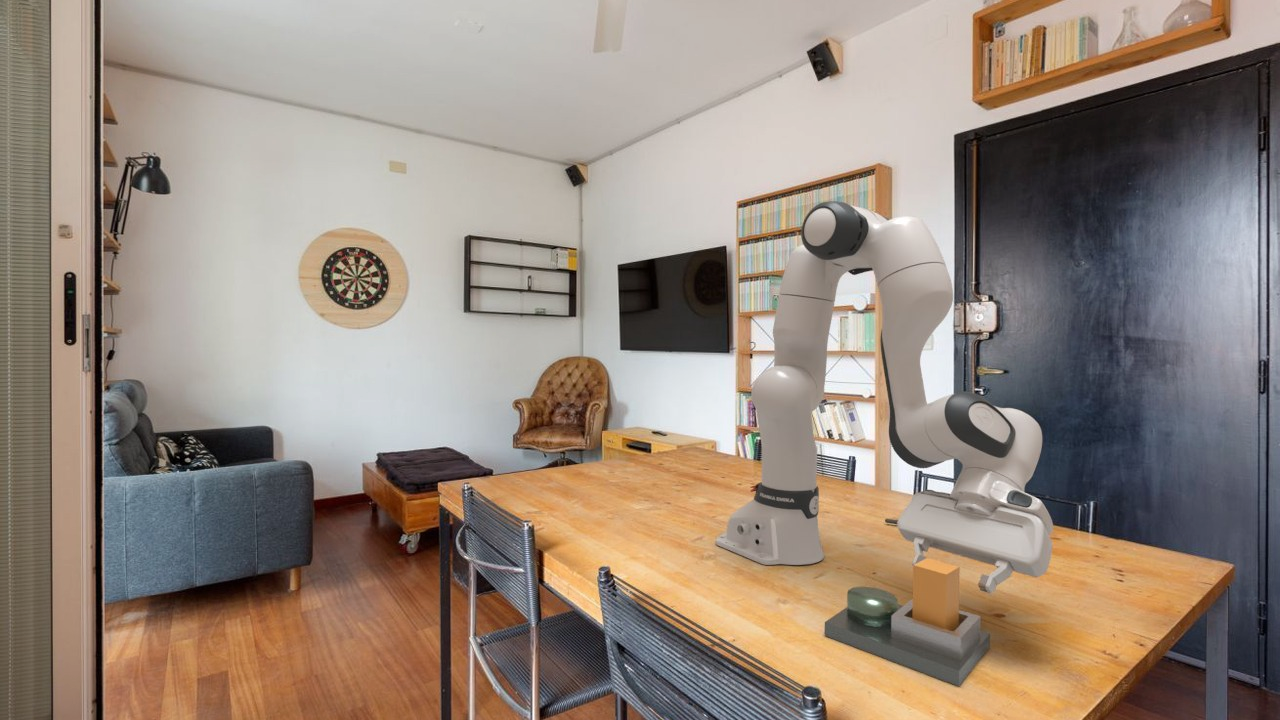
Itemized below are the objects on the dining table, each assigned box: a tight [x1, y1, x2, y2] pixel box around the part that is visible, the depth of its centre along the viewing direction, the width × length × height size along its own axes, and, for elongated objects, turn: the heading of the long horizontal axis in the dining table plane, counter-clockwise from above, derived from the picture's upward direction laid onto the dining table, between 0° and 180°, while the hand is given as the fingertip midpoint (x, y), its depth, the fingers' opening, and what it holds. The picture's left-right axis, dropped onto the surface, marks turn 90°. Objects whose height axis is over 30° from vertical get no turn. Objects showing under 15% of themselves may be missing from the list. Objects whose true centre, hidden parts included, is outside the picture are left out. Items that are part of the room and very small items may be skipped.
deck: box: [824, 586, 991, 687], centre depth 83 cm, size 18×14×5 cm
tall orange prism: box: [912, 557, 961, 632], centre depth 81 cm, size 4×4×10 cm
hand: (950, 578), depth 83 cm, fingers open, 8 cm apart
